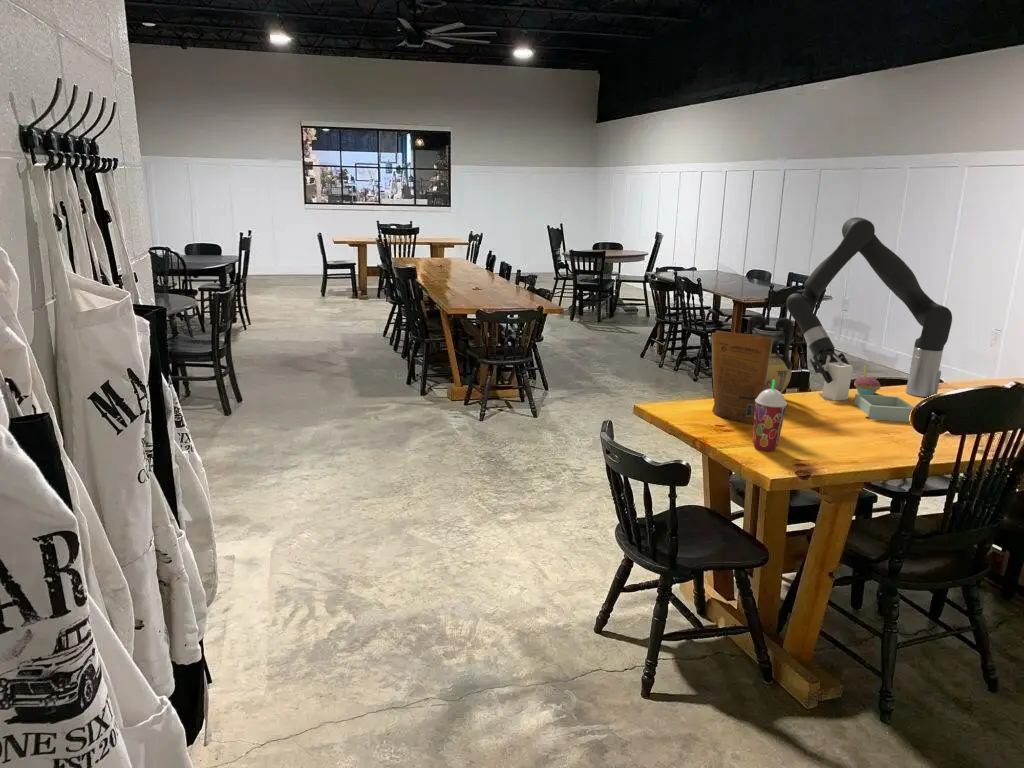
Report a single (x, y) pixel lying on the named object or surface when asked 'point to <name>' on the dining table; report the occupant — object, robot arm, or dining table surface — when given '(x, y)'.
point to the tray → (883, 407)
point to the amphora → (775, 349)
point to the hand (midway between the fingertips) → (839, 381)
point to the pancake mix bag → (738, 373)
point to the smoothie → (768, 419)
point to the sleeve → (838, 381)
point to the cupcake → (866, 385)
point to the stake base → (834, 400)
